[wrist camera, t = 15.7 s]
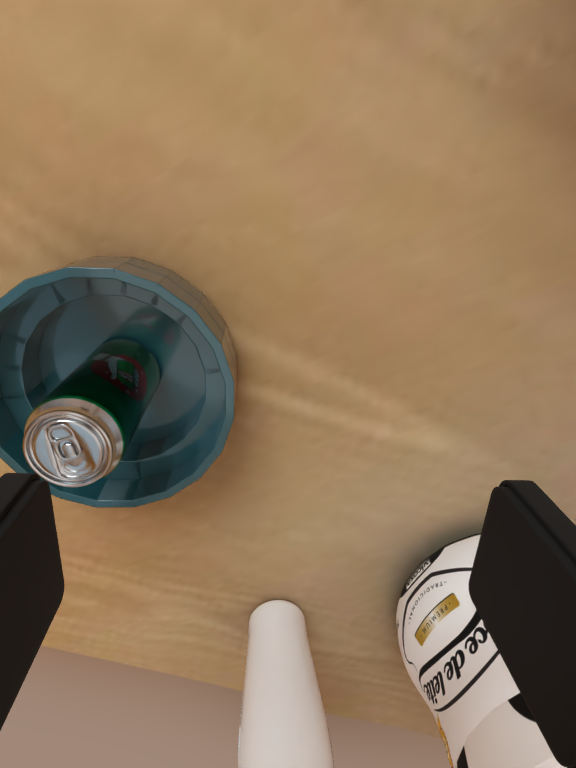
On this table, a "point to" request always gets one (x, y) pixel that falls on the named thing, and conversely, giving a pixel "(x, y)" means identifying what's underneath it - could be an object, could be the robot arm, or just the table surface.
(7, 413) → the bowl
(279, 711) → the drinking glass
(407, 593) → the milk container
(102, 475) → the soda can
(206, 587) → the table surface
